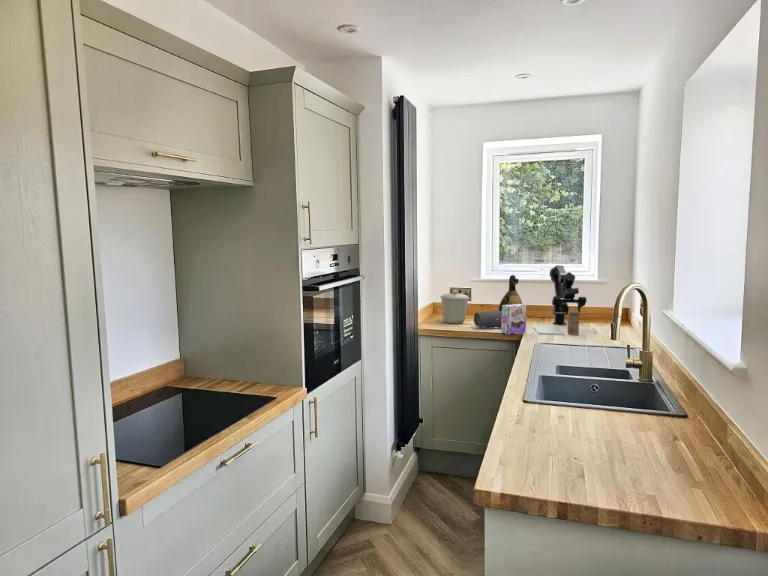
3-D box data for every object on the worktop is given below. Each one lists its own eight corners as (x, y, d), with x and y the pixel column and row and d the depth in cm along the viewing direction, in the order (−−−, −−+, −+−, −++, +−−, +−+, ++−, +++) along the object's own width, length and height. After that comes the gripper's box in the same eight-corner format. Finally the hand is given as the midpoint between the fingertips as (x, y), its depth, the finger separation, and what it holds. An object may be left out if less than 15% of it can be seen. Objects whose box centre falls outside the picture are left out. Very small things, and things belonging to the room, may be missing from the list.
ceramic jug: (525, 323, 335) (527, 276, 331) (501, 323, 335) (502, 276, 331) (519, 318, 352) (520, 274, 348) (495, 318, 352) (497, 273, 348)
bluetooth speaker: (479, 329, 312) (480, 313, 311) (473, 326, 321) (473, 310, 320) (514, 328, 319) (514, 311, 318) (506, 325, 328) (506, 309, 326)
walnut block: (567, 333, 303) (568, 311, 302) (576, 333, 303) (577, 311, 301) (569, 335, 299) (570, 312, 297) (578, 335, 298) (579, 312, 297)
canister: (472, 321, 338) (473, 289, 336) (461, 326, 323) (462, 292, 321) (447, 319, 348) (448, 287, 346) (434, 322, 333) (435, 289, 331)
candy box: (507, 335, 297) (508, 306, 295) (500, 333, 302) (501, 304, 301) (525, 333, 304) (527, 304, 302) (518, 331, 309) (520, 303, 307)
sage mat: (532, 327, 322) (532, 325, 322) (555, 327, 321) (555, 326, 321) (538, 334, 300) (538, 332, 300) (564, 334, 299) (564, 333, 299)
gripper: (553, 282, 310) (557, 303, 300) (586, 283, 308) (591, 304, 298) (550, 294, 319) (553, 315, 309) (582, 295, 317) (586, 316, 307)
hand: (571, 312), depth 306 cm, fingers open, 9 cm apart
